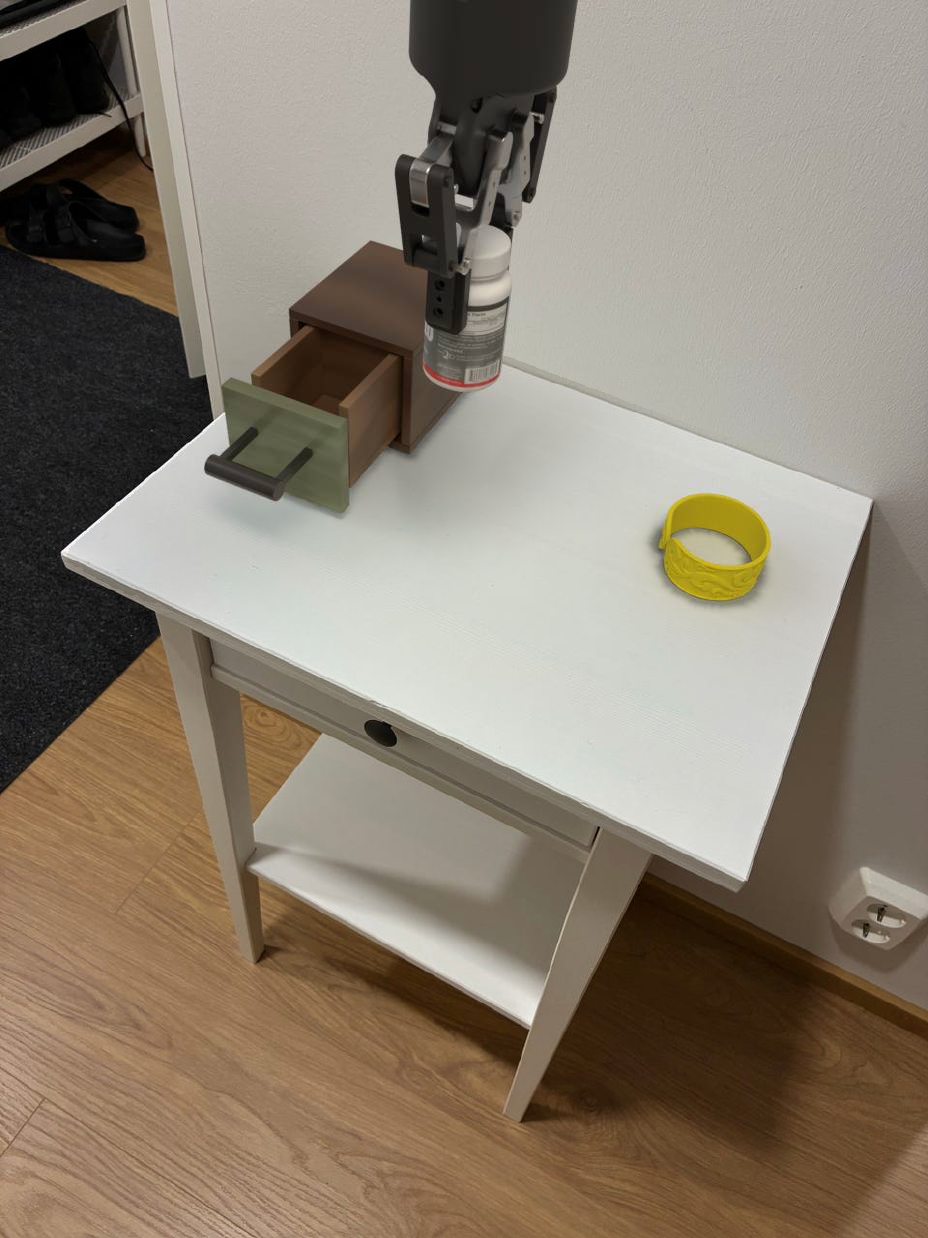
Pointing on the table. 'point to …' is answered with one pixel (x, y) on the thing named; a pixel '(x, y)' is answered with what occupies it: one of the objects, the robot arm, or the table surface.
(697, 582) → the bracelet
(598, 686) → the table surface
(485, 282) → the pill bottle
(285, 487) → the drawer
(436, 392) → the cabinet
